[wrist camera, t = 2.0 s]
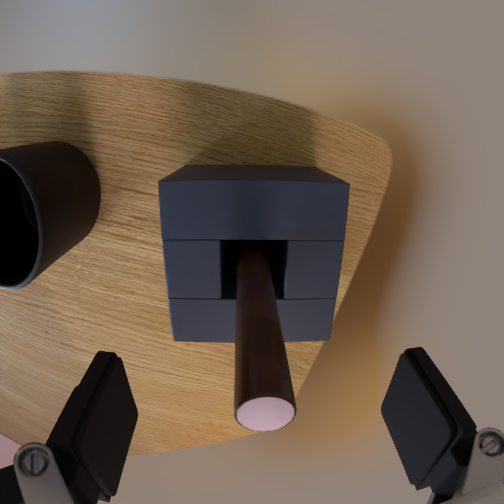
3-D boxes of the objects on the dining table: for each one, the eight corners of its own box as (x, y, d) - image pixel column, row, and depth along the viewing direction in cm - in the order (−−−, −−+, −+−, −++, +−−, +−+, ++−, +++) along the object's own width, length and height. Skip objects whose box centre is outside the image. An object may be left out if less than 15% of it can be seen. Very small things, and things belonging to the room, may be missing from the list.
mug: (2, 143, 21) (-65, 157, 12) (105, 140, 22) (41, 148, 13) (6, 237, 24) (-52, 274, 16) (103, 250, 25) (51, 302, 17)
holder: (185, 165, 23) (158, 180, 15) (316, 167, 23) (350, 183, 16) (190, 284, 26) (173, 341, 19) (307, 285, 27) (329, 340, 19)
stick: (238, 217, 25) (233, 395, 8) (261, 217, 25) (300, 394, 8) (238, 239, 25) (234, 432, 8) (261, 239, 25) (293, 431, 8)
